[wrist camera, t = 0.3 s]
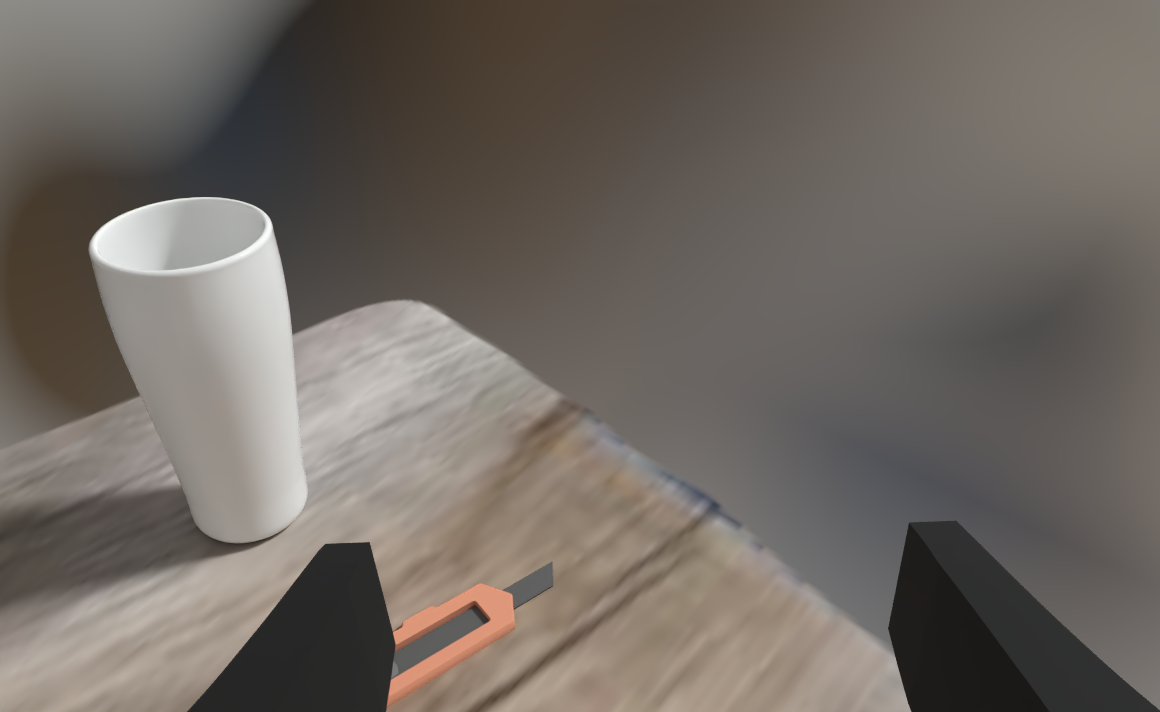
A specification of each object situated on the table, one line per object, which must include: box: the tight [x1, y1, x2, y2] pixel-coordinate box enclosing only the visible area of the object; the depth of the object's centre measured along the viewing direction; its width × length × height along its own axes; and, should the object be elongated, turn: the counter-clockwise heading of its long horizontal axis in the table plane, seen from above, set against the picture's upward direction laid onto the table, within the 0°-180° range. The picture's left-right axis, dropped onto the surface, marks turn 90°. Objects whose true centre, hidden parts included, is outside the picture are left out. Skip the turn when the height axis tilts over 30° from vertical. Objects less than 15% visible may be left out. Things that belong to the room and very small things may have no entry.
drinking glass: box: [89, 197, 308, 543], centre depth 37 cm, size 7×7×15 cm
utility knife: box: [387, 562, 553, 707], centre depth 35 cm, size 4×1×18 cm
